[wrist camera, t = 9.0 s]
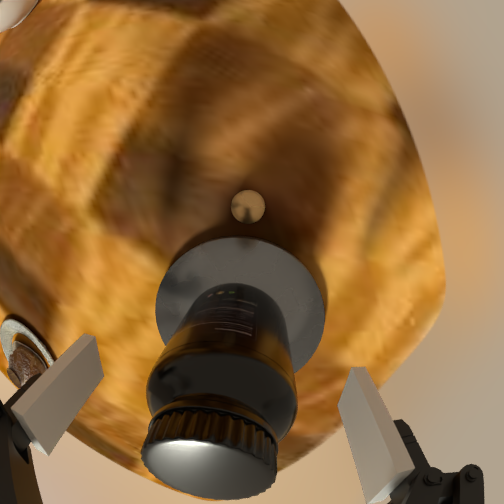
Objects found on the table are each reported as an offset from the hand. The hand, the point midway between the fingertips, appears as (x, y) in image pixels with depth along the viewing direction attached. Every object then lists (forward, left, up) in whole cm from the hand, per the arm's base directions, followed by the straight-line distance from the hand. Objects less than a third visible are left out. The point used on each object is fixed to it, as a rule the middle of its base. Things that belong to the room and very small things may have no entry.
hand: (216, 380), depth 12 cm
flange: (0, 0, -7) cm, 7 cm away
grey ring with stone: (-24, -12, -8) cm, 28 cm away
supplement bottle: (0, 0, -7) cm, 7 cm away
